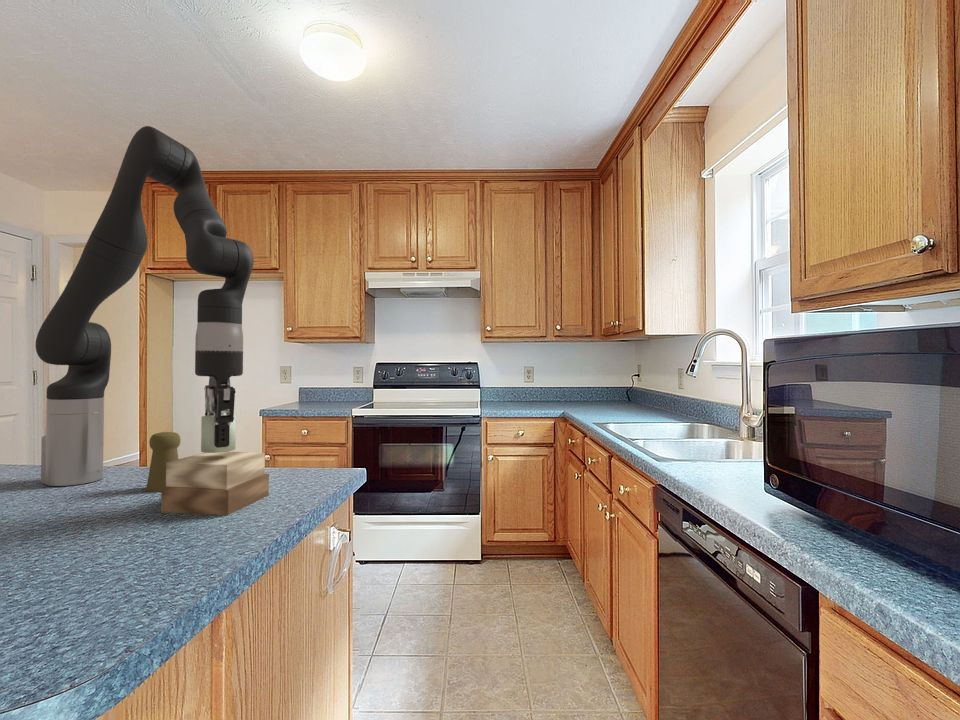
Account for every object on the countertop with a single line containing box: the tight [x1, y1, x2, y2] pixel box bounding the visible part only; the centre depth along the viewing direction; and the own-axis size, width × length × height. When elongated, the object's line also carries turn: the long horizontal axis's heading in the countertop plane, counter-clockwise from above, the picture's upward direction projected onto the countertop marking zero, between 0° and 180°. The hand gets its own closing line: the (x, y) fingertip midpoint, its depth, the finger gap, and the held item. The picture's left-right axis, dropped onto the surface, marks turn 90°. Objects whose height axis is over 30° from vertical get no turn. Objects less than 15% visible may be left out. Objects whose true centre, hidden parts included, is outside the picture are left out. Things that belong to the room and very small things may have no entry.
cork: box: [145, 431, 181, 493], centre depth 96 cm, size 6×6×11 cm
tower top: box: [166, 451, 266, 489], centre depth 86 cm, size 11×11×4 cm
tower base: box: [160, 472, 270, 516], centre depth 86 cm, size 12×12×4 cm
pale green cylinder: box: [200, 414, 237, 453], centre depth 86 cm, size 5×5×6 cm
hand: (218, 444), depth 86 cm, fingers closed on pale green cylinder, 5 cm apart
